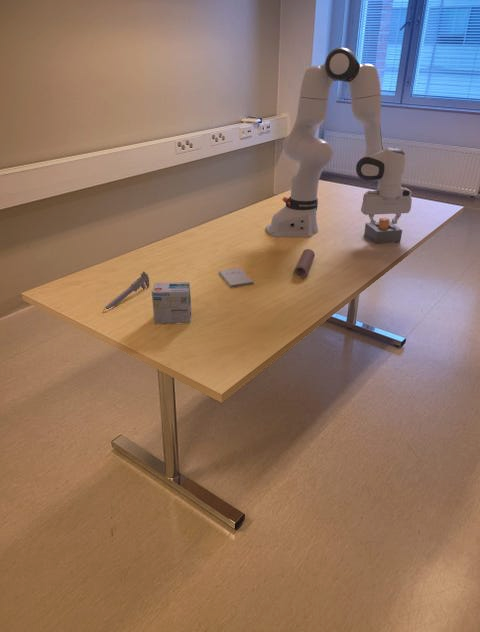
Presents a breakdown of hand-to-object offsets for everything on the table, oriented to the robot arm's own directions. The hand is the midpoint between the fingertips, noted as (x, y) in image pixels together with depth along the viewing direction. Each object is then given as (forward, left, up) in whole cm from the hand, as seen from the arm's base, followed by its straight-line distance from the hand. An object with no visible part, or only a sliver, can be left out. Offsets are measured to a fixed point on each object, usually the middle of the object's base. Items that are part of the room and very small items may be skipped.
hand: (383, 224), depth 207 cm
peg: (+1, +1, -6) cm, 6 cm away
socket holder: (+1, +1, -6) cm, 6 cm away
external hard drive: (-67, -27, -7) cm, 73 cm away
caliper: (-105, -35, -7) cm, 110 cm away
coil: (-41, -23, -7) cm, 48 cm away
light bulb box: (-91, -50, -7) cm, 105 cm away
